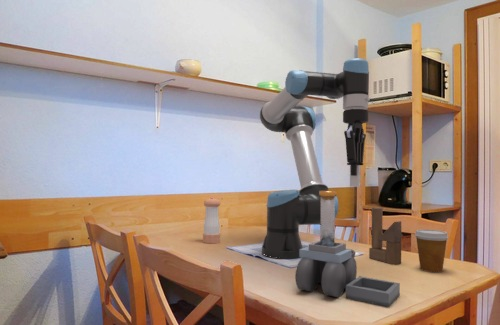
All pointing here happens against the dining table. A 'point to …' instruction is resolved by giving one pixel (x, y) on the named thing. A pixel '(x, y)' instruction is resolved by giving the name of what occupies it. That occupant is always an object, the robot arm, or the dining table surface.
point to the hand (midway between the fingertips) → (355, 186)
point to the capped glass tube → (327, 218)
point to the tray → (373, 291)
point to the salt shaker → (211, 221)
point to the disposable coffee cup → (431, 249)
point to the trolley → (325, 268)
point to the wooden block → (385, 239)
